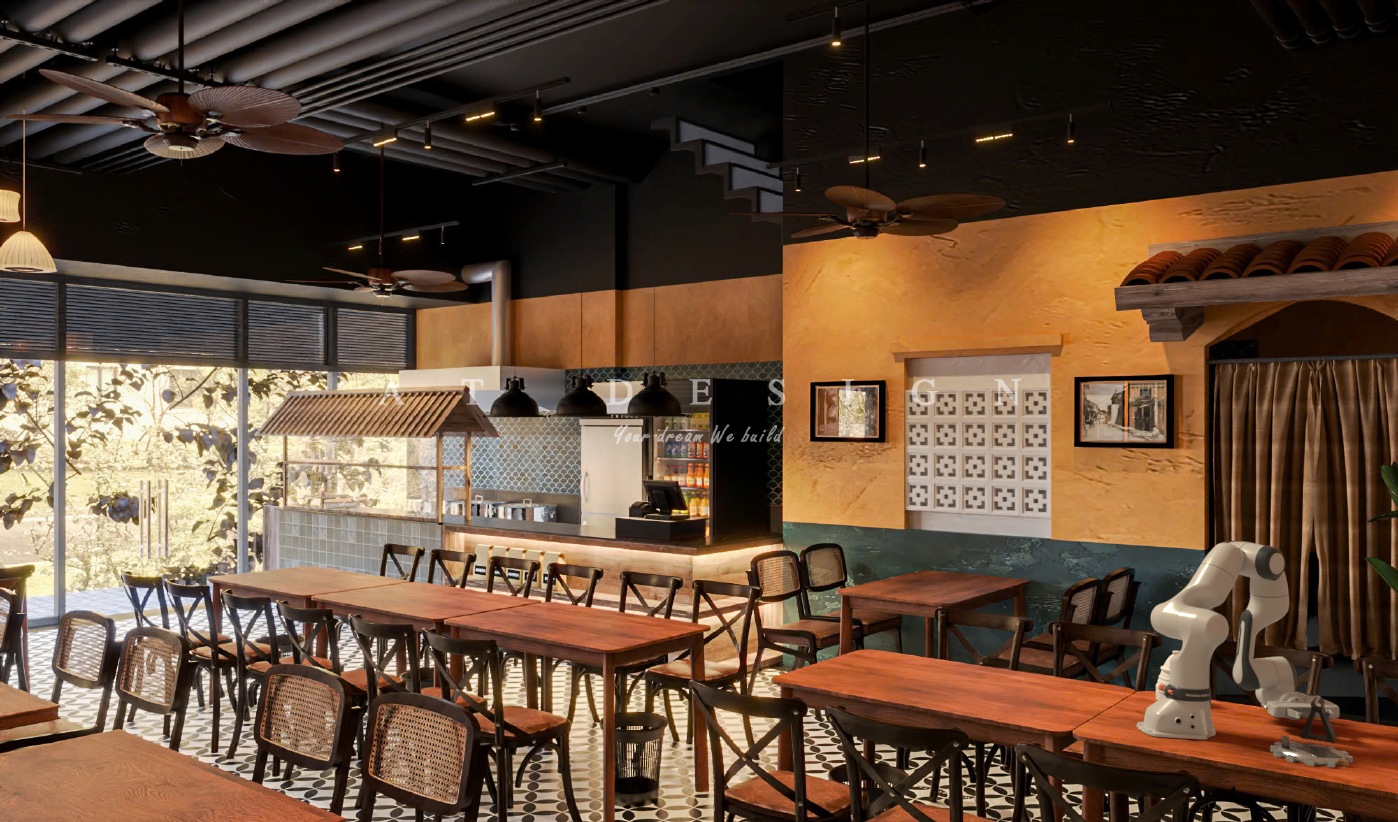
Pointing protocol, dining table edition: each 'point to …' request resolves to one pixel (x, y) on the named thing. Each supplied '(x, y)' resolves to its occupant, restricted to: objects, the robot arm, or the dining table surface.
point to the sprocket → (1310, 753)
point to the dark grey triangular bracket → (1325, 721)
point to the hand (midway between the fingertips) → (1316, 716)
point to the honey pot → (1164, 676)
